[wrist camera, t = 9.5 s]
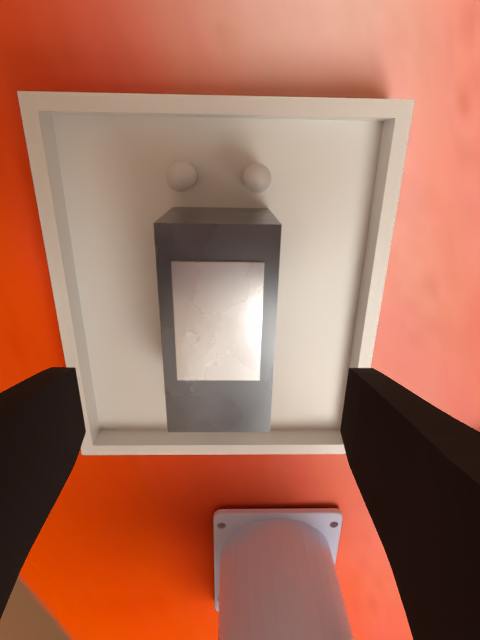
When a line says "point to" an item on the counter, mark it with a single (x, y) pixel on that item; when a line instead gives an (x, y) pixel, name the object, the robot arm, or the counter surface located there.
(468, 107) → the counter surface
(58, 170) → the tray
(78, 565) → the counter surface
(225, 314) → the block
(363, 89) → the counter surface
